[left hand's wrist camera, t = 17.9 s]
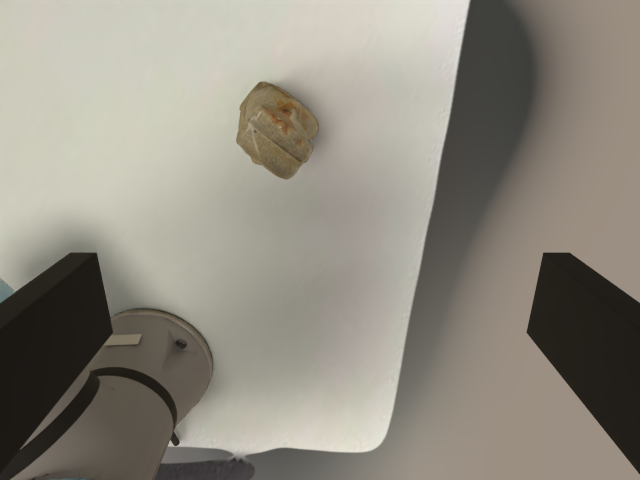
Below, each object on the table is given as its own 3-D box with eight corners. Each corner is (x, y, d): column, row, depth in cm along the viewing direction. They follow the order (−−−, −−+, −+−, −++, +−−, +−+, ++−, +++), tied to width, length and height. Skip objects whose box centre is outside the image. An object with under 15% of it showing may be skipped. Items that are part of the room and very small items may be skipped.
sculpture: (289, 162, 44) (274, 202, 30) (236, 112, 43) (195, 131, 29) (327, 120, 43) (331, 143, 29) (274, 67, 41) (251, 64, 27)
